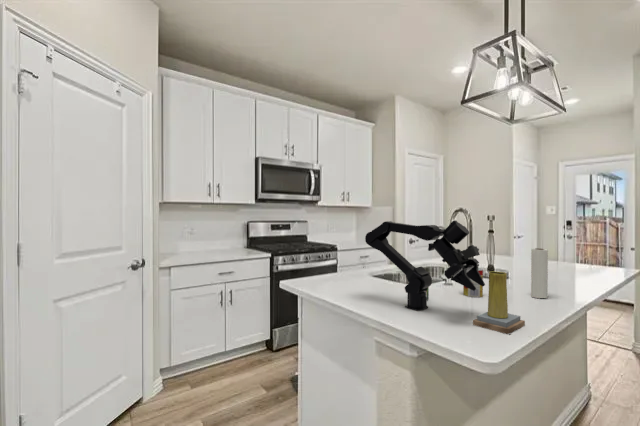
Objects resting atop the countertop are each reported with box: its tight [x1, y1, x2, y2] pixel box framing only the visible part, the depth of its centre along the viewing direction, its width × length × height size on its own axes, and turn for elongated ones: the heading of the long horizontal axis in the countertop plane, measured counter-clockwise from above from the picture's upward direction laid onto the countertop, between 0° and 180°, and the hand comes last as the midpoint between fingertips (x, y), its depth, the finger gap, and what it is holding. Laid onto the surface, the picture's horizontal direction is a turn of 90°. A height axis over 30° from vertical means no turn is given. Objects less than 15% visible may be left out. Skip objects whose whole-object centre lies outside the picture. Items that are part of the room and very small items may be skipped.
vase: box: [487, 271, 509, 319], centre depth 112 cm, size 6×6×14 cm
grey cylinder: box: [530, 247, 549, 299], centre depth 149 cm, size 7×6×21 cm
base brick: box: [472, 318, 526, 335], centre depth 112 cm, size 11×13×2 cm
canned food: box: [462, 267, 484, 299], centre depth 152 cm, size 8×8×12 cm
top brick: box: [476, 311, 521, 328], centre depth 112 cm, size 9×11×2 cm
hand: (479, 287), depth 116 cm, fingers open, 9 cm apart
